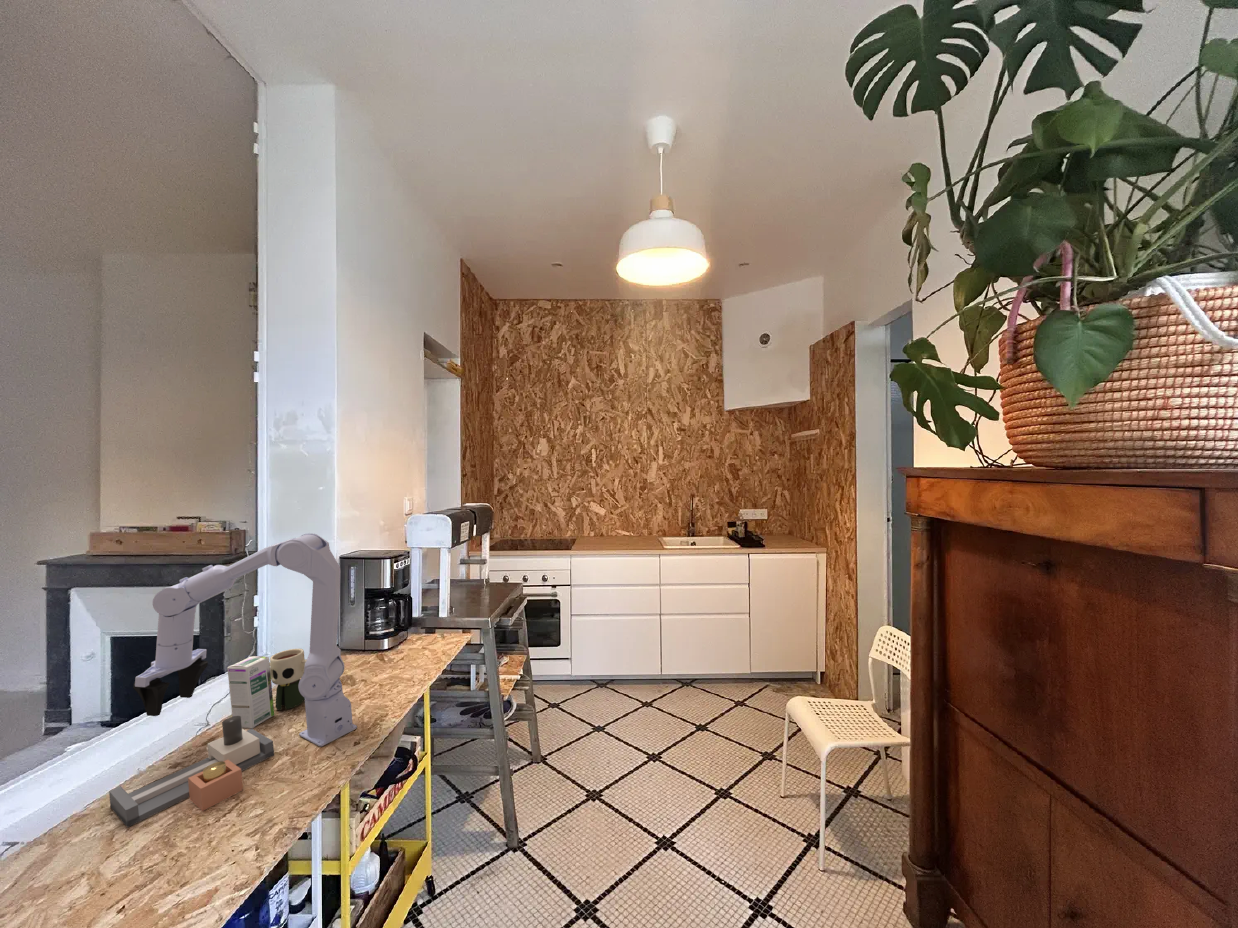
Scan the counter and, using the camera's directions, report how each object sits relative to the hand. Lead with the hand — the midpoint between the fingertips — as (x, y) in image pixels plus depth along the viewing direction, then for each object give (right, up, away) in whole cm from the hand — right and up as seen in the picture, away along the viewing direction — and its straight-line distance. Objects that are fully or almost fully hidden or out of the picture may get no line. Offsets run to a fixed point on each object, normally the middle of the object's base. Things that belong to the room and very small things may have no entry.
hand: (170, 705), depth 103 cm
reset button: (+20, -8, -13) cm, 25 cm away
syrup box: (+8, -10, +13) cm, 18 cm away
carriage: (+16, -9, -3) cm, 18 cm away
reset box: (+20, -10, -13) cm, 26 cm away
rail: (+13, -10, -8) cm, 18 cm away
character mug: (+12, -10, +19) cm, 25 cm away
